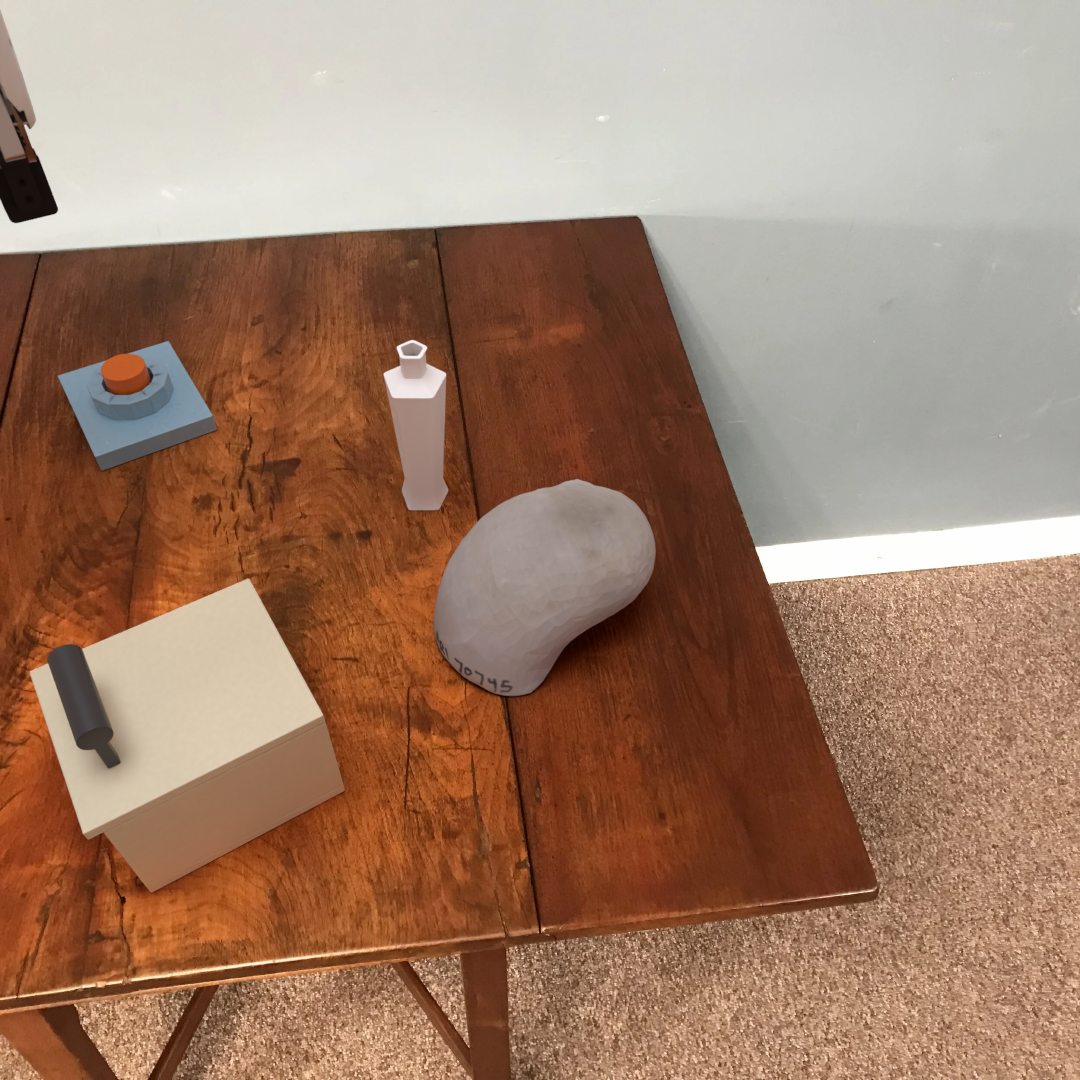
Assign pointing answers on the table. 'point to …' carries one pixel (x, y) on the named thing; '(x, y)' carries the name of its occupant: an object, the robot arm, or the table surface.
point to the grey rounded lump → (539, 581)
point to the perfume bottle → (419, 425)
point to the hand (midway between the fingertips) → (33, 212)
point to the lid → (170, 704)
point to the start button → (125, 374)
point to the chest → (229, 809)
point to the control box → (138, 409)
